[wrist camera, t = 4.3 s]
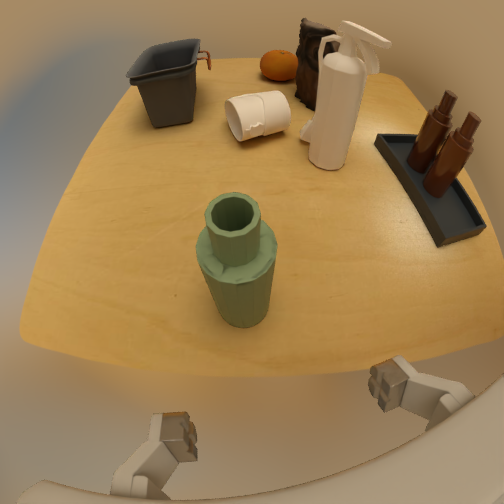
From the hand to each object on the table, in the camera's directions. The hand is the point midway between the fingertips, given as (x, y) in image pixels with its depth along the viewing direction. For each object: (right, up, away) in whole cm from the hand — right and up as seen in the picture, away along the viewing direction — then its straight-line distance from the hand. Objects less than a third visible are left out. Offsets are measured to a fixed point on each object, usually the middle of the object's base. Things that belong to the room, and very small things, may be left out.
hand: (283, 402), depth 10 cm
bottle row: (+31, +21, +32) cm, 50 cm away
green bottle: (-2, 0, +22) cm, 23 cm away
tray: (+32, +19, +32) cm, 49 cm away
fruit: (+6, +52, +51) cm, 73 cm away
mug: (-1, +30, +39) cm, 49 cm away
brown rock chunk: (+15, +41, +45) cm, 63 cm away
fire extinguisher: (+11, +23, +35) cm, 44 cm away
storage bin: (-17, +39, +44) cm, 62 cm away
